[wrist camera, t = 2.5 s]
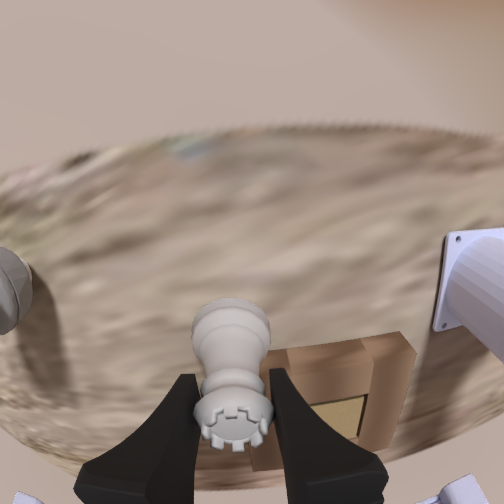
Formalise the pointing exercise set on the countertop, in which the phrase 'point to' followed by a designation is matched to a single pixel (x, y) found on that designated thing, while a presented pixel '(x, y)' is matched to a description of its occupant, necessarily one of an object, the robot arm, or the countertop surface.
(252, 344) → the rook chess piece
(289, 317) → the countertop surface
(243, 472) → the countertop surface
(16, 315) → the light bulb
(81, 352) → the countertop surface
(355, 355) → the socket block
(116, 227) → the countertop surface
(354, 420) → the brass plunger
